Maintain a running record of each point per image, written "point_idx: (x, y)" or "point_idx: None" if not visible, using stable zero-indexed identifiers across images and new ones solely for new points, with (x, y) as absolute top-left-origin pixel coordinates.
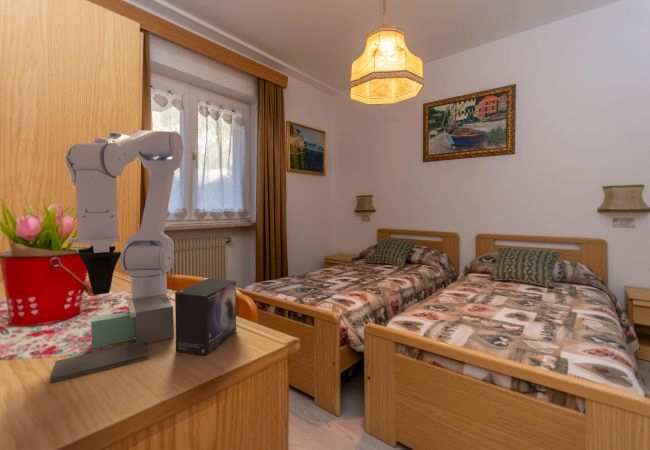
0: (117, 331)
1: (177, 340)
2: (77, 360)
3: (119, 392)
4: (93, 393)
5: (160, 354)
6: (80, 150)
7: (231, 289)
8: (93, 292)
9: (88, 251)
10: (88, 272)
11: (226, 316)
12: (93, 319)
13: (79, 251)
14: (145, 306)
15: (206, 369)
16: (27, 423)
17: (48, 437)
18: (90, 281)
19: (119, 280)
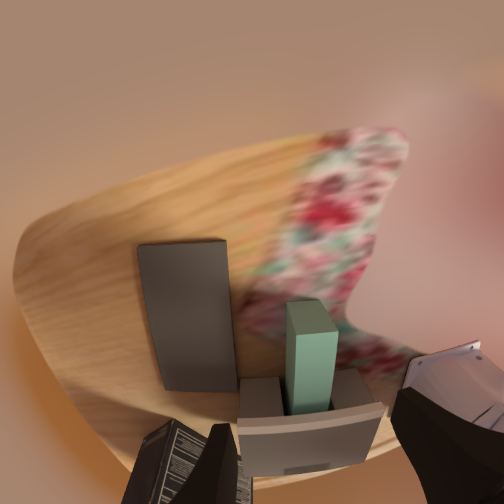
0: (289, 362)
1: (166, 435)
2: (201, 285)
3: (75, 339)
4: (81, 310)
5: (175, 402)
6: None
7: None
8: (210, 431)
9: (478, 497)
10: (173, 498)
11: None
12: (317, 338)
13: (501, 478)
14: (281, 446)
15: (105, 425)
16: (44, 238)
17: (19, 267)
18: (196, 465)
19: None
